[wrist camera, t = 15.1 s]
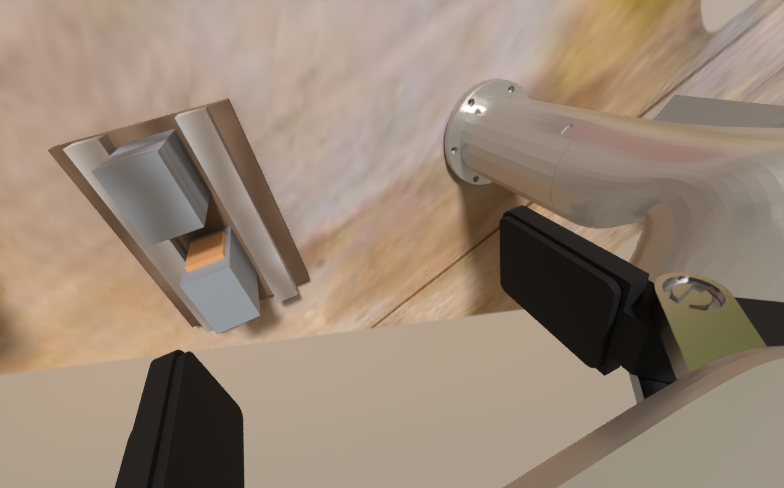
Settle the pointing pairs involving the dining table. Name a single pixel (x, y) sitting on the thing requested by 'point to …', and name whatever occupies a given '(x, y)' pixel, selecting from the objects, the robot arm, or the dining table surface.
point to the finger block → (221, 280)
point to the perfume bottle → (721, 113)
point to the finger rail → (214, 201)
